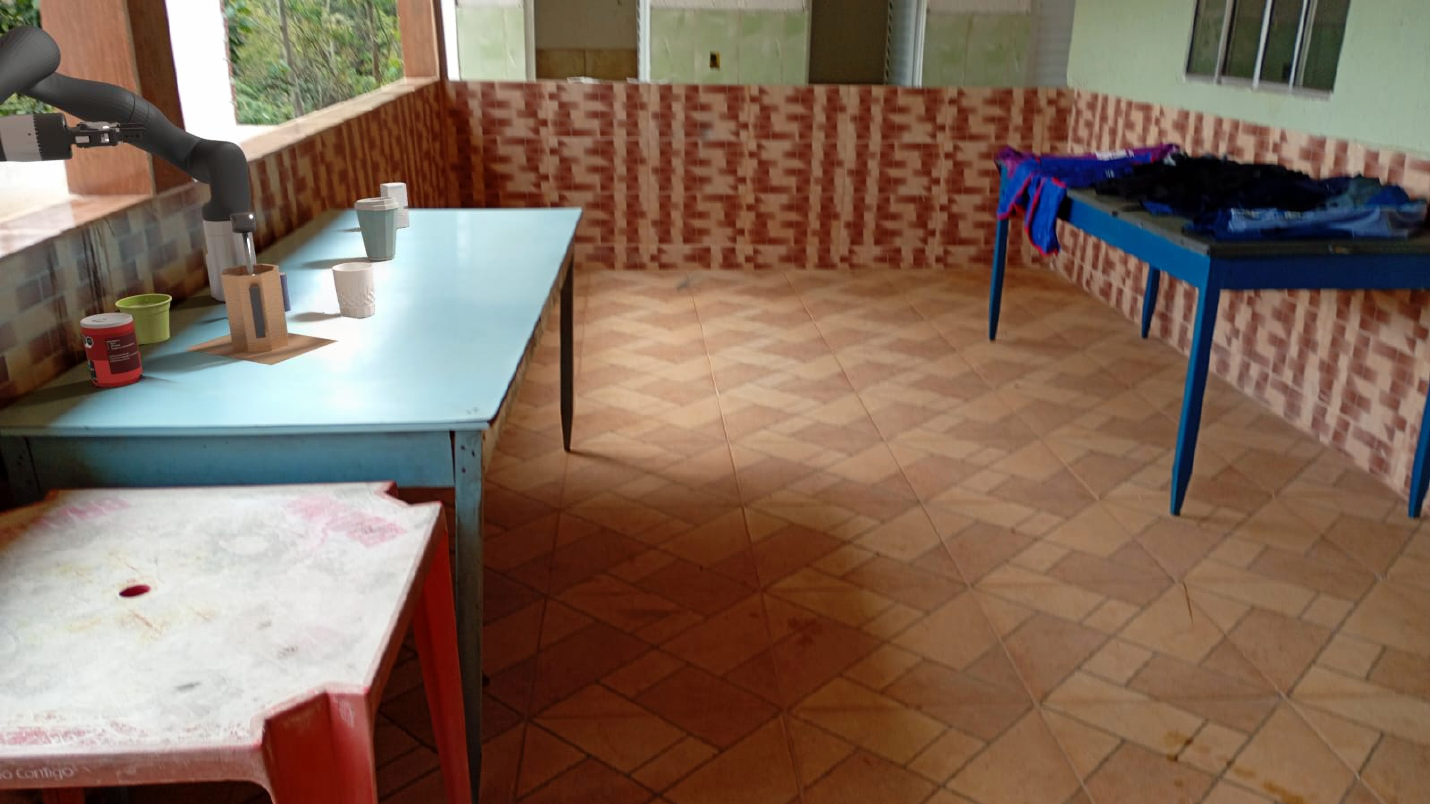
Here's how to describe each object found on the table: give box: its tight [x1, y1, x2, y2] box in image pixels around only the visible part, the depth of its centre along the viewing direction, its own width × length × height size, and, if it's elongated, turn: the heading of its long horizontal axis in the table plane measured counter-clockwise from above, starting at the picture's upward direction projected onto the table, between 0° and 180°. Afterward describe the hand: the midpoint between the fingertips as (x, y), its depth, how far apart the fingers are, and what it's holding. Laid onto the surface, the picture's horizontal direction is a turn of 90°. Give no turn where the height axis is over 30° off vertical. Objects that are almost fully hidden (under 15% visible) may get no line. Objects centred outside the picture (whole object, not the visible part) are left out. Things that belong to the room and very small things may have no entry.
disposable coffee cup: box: [354, 196, 400, 262], centre depth 279 cm, size 11×11×15 cm
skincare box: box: [379, 181, 411, 229], centre depth 318 cm, size 6×4×12 cm
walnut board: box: [183, 332, 338, 366], centre depth 208 cm, size 22×16×1 cm
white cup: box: [331, 261, 376, 319], centre depth 230 cm, size 8×8×10 cm
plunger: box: [230, 211, 258, 275], centre depth 204 cm, size 6×6×23 cm
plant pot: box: [114, 293, 173, 346], centre depth 211 cm, size 9×9×9 cm
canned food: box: [79, 312, 144, 388], centre depth 191 cm, size 8×8×11 cm
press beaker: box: [221, 263, 289, 353], centre depth 205 cm, size 11×10×14 cm
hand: (146, 131), depth 191 cm, fingers open, 8 cm apart
